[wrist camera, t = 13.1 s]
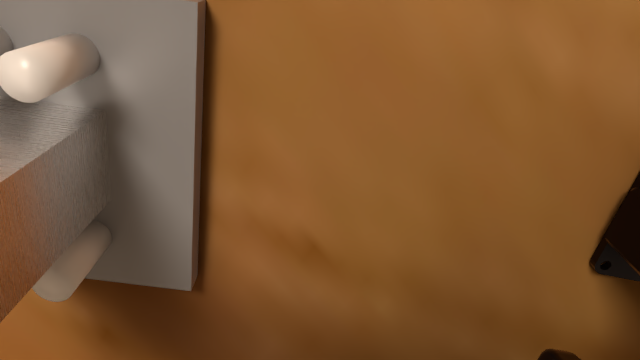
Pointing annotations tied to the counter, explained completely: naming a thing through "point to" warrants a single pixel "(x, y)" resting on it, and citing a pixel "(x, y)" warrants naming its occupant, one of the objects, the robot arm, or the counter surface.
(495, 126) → the counter surface
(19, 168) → the white tall rectangular block
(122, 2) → the pin tray
